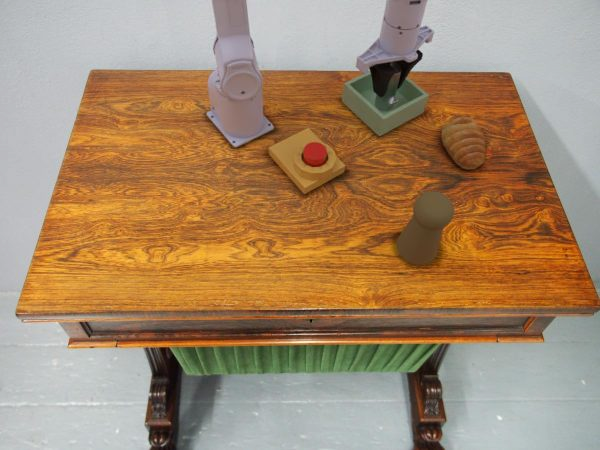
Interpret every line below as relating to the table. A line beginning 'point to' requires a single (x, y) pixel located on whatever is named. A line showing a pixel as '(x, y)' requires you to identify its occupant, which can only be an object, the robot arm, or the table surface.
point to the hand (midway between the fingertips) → (386, 89)
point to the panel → (294, 166)
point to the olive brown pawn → (425, 228)
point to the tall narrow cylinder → (389, 91)
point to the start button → (314, 154)
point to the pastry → (464, 142)
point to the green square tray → (363, 105)
